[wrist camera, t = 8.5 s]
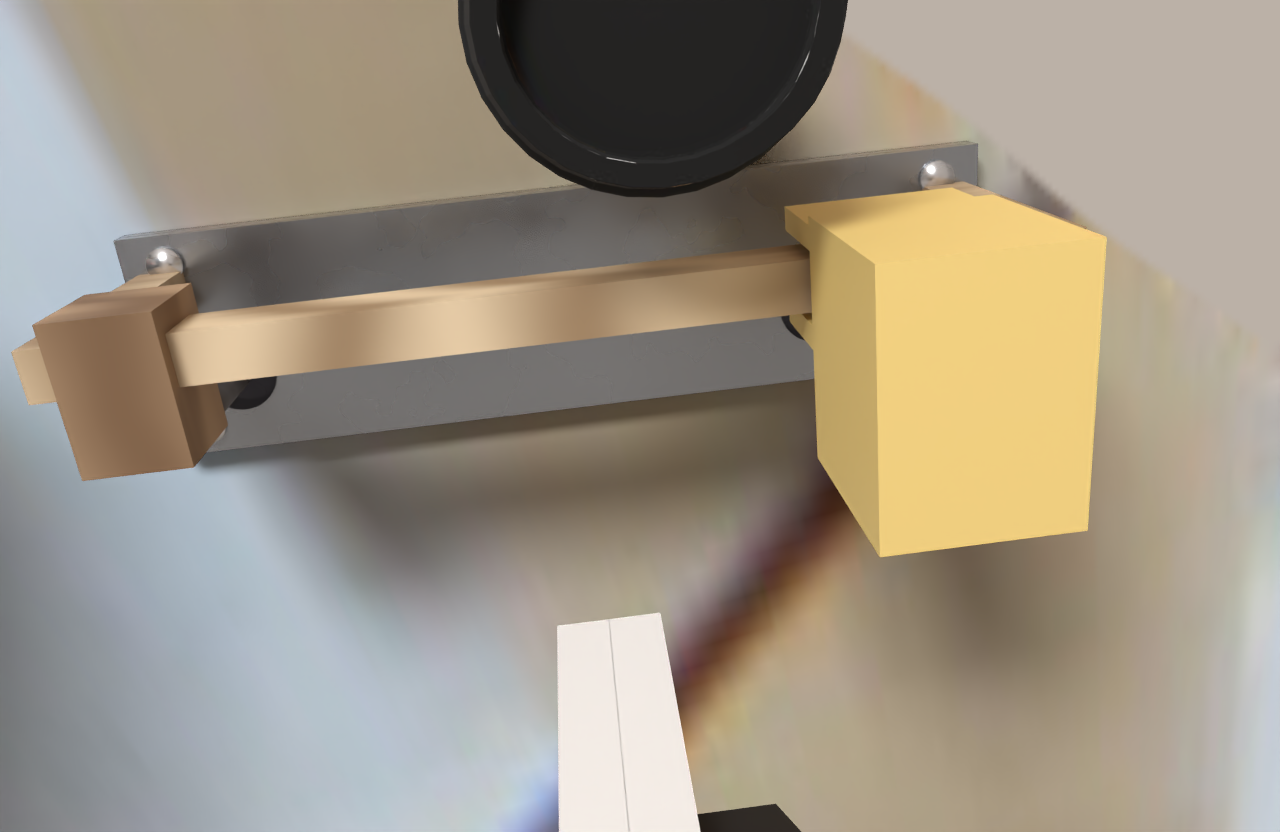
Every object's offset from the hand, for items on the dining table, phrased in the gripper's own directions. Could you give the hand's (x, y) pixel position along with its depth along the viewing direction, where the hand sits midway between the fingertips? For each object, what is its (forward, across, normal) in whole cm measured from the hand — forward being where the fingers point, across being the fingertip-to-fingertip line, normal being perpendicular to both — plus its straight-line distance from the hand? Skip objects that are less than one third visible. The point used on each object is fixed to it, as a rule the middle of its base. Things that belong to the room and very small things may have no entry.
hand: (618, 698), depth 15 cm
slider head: (+23, +9, +1) cm, 25 cm away
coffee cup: (+25, +2, +10) cm, 27 cm away
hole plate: (+24, 0, 0) cm, 24 cm away
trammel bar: (+23, 0, +1) cm, 23 cm away
